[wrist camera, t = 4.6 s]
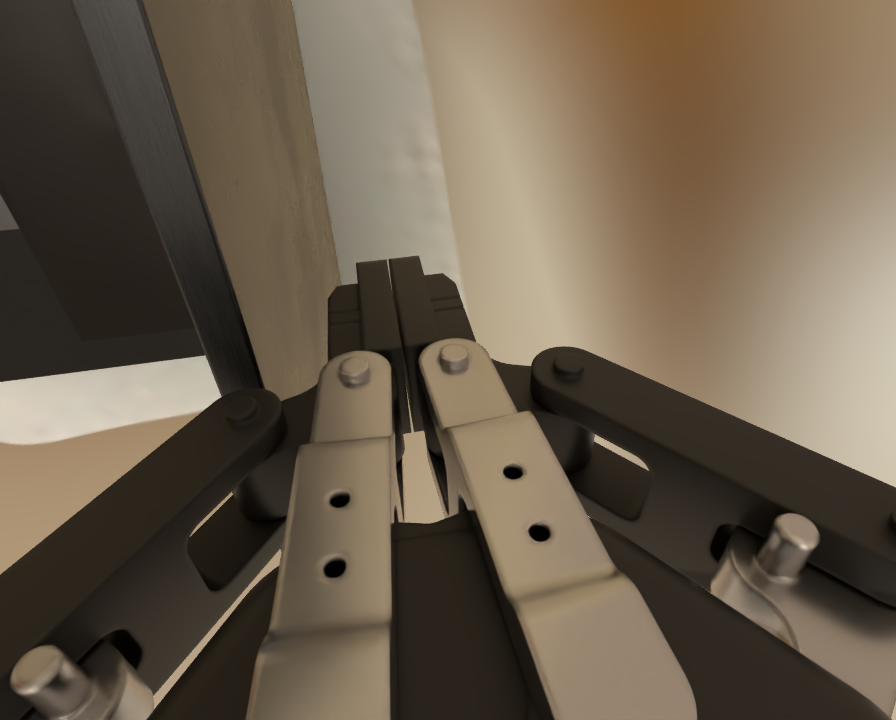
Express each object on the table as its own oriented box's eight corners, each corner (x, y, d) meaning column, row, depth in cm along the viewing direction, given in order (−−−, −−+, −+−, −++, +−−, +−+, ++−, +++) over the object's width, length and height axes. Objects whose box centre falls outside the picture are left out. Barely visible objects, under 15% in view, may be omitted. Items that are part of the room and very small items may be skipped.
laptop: (-8, 365, 33) (-23, 386, 32) (-480, -309, 17) (-556, -330, 15) (335, 322, 35) (335, 340, 34) (214, -306, 19) (205, -324, 18)
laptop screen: (332, 695, 19) (360, 690, 19) (-723, -1967, 2) (-464, -1903, 2) (335, 339, 34) (350, 337, 34) (205, -323, 18) (234, -323, 18)
